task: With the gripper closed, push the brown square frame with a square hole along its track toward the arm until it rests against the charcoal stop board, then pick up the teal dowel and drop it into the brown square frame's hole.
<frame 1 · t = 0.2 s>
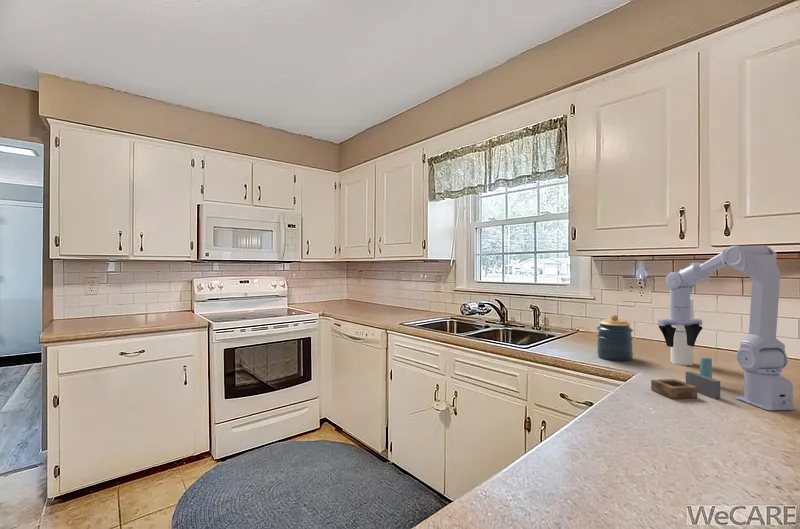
hand: (680, 346, 135), 10 cm above the worktop, tool pointing down, fingers open, 7 cm apart
dowel: (705, 383, 125), on the worktop
cylindrical container: (681, 363, 150), on the worktop
brown square frame: (673, 388, 116), point 2 cm above the worktop, slide at 0.0 cm
canister: (614, 358, 160), on the worktop
stop board: (702, 392, 116), on the worktop
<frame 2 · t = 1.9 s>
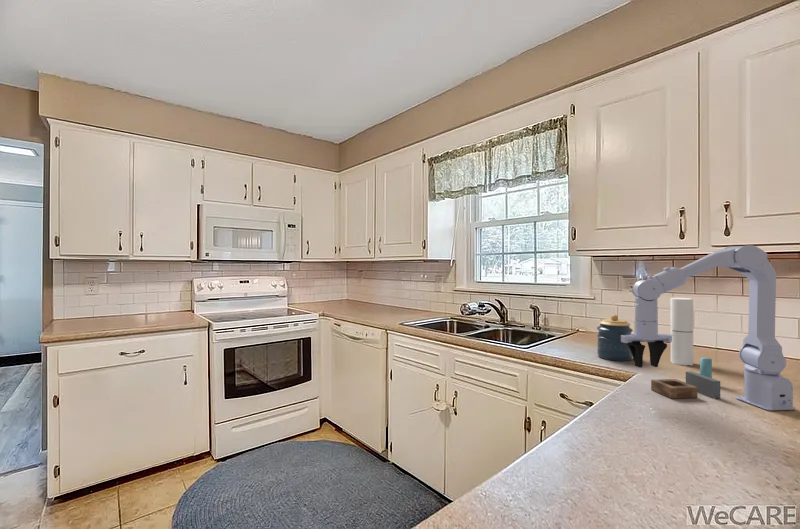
hand: (646, 366, 115), 8 cm above the worktop, tool pointing down, fingers open, 4 cm apart
nothing on the worktop moved.
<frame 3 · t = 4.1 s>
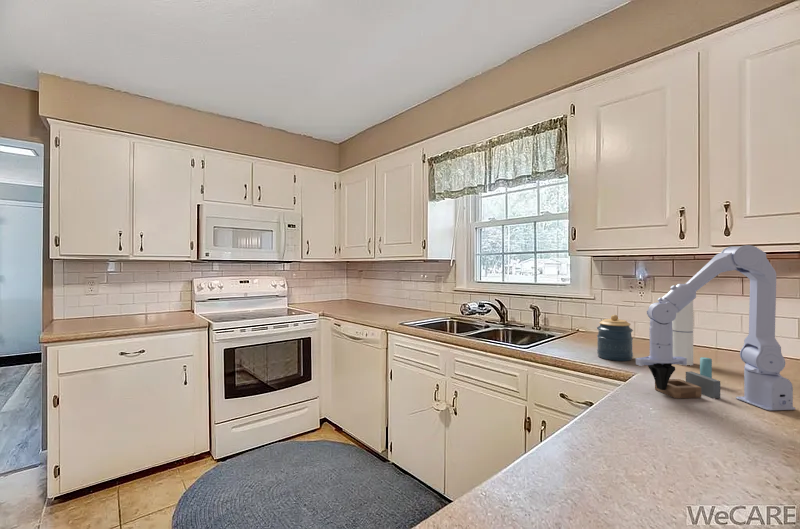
hand: (661, 388, 115), 2 cm above the worktop, tool pointing down, fingers closed
brown square frame: (677, 388, 116), point 2 cm above the worktop, slide at 1.2 cm, touching gripper
everything else where it was.
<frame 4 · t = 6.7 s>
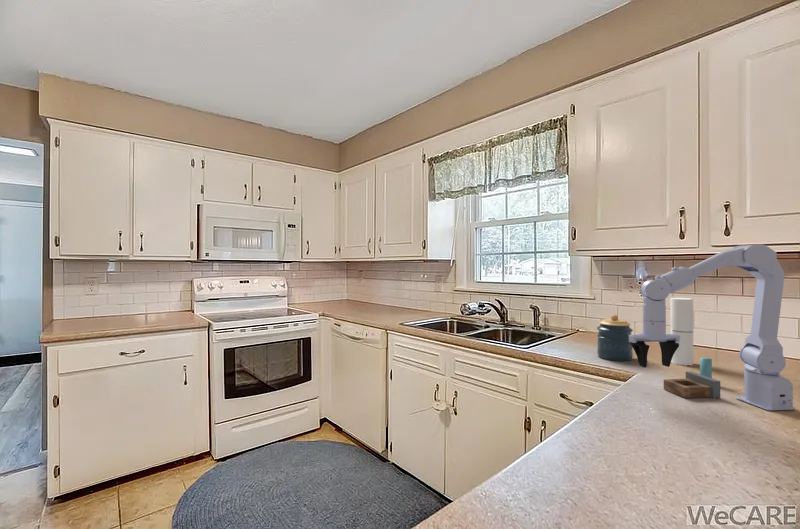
hand: (654, 366, 115), 8 cm above the worktop, tool pointing down, fingers open, 7 cm apart
brown square frame: (686, 388, 116), point 2 cm above the worktop, slide at 4.0 cm
everything else where it was.
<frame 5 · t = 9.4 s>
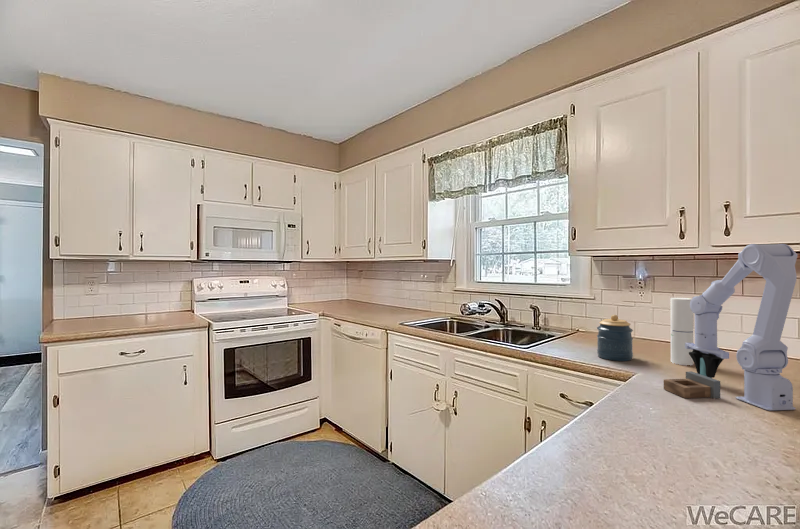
hand: (705, 375, 125), 2 cm above the worktop, tool pointing down, fingers closed on dowel, 3 cm apart
dowel: (705, 383, 125), on the worktop, touching gripper
everything else where it was.
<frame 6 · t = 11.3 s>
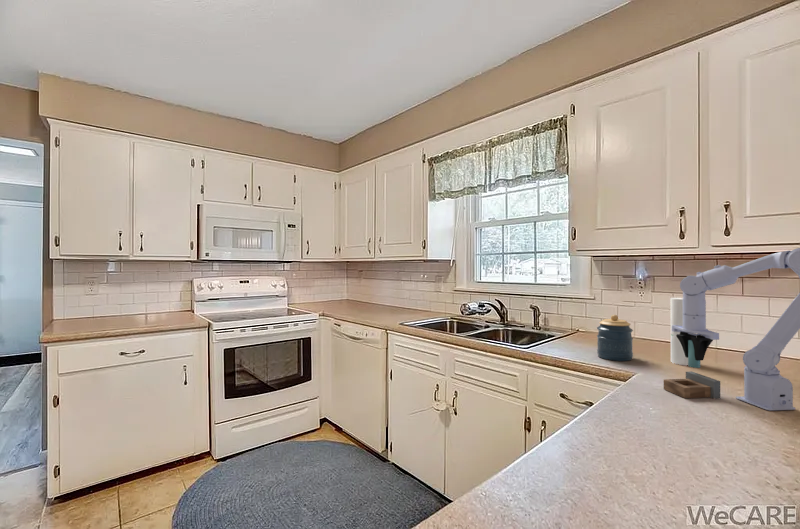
hand: (694, 358, 120), 9 cm above the worktop, tool pointing down, fingers closed on dowel, 3 cm apart
dowel: (694, 366, 120), point 7 cm above the worktop, touching gripper
everything else where it was.
when the fingers open (4 cm above the worktop, at t = 13.4 s): dowel drops 2 cm, resting in brown square frame.
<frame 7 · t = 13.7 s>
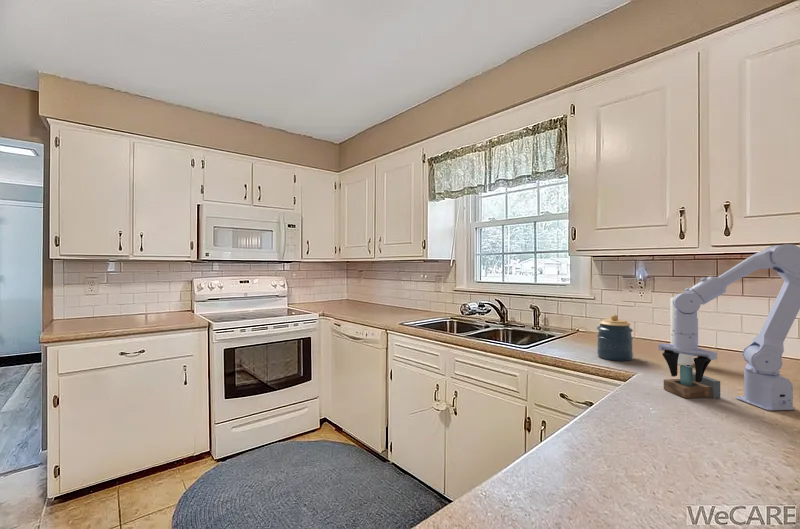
hand: (686, 378, 116), 4 cm above the worktop, tool pointing down, fingers open, 6 cm apart
dowel: (686, 393, 116), resting in brown square frame
everything else where it was.
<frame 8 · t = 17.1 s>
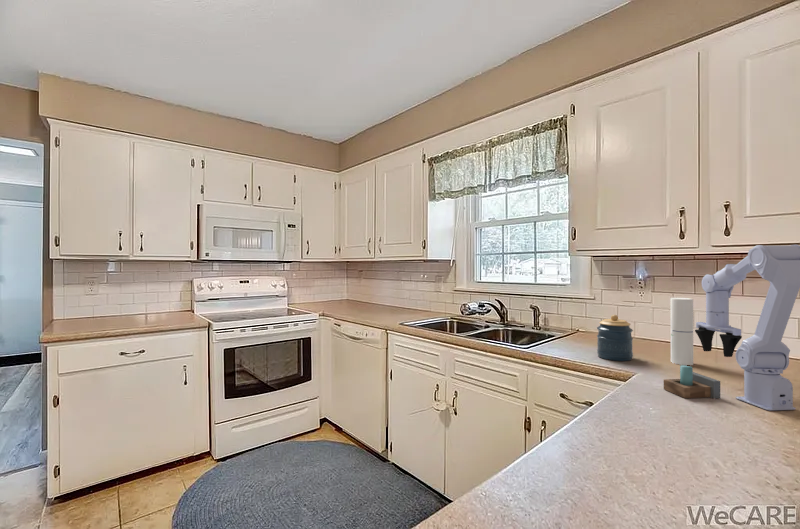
hand: (717, 353, 126), 9 cm above the worktop, tool pointing down, fingers open, 7 cm apart
nothing on the worktop moved.
at the end: brown square frame slide at 4.0 cm; dowel 0.0 cm from the target spot, resting in brown square frame; dowel tilted 0° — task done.
